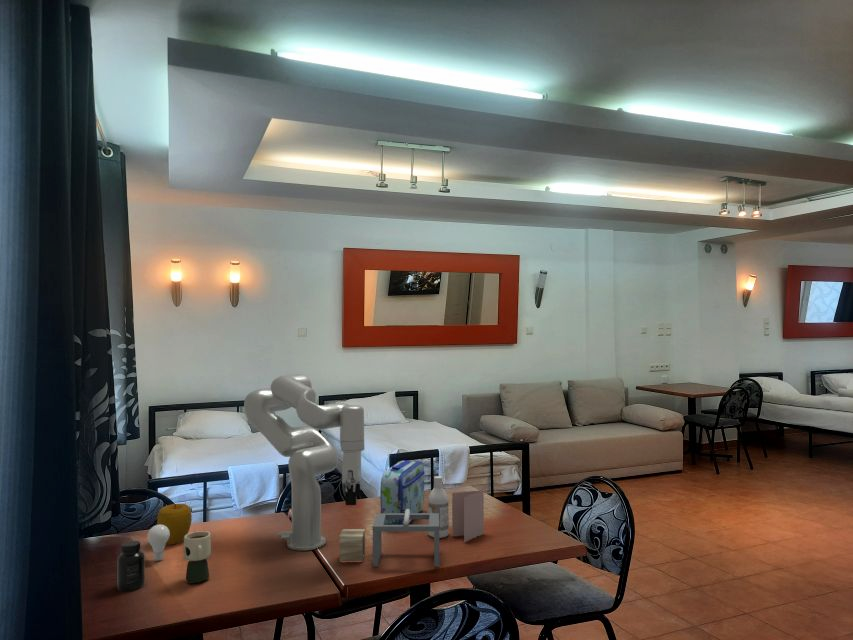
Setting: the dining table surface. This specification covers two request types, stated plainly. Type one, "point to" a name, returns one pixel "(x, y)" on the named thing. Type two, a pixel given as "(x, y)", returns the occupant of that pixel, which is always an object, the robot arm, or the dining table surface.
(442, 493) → the bath foam
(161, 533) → the lightbulb
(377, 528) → the shelf stand
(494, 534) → the dining table surface
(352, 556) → the birch clip
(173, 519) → the apple
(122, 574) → the supplement bottle
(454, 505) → the greeting card
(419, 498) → the lunch box
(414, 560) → the dining table surface
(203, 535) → the character mug
